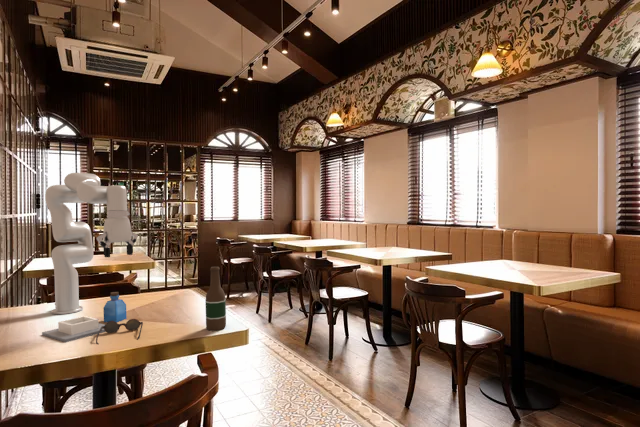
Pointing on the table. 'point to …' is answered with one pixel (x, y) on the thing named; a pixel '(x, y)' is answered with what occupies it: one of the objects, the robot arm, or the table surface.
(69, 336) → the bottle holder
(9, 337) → the table surface
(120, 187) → the robot arm
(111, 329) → the eyeglasses
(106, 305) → the perfume bottle
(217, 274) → the beer bottle
